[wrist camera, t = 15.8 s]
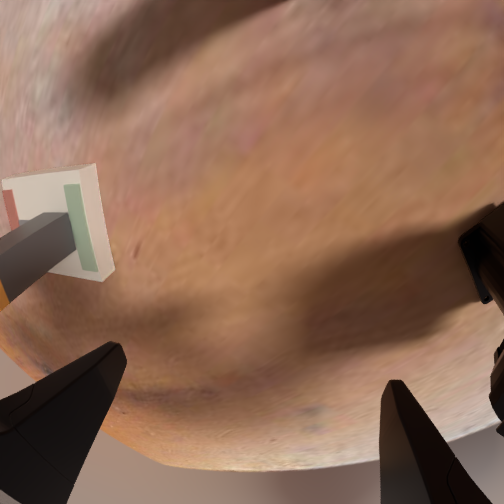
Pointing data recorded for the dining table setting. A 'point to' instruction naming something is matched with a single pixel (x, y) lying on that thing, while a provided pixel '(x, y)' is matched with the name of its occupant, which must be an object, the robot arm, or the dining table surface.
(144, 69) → the dining table surface
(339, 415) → the dining table surface
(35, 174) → the plate
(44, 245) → the lever
